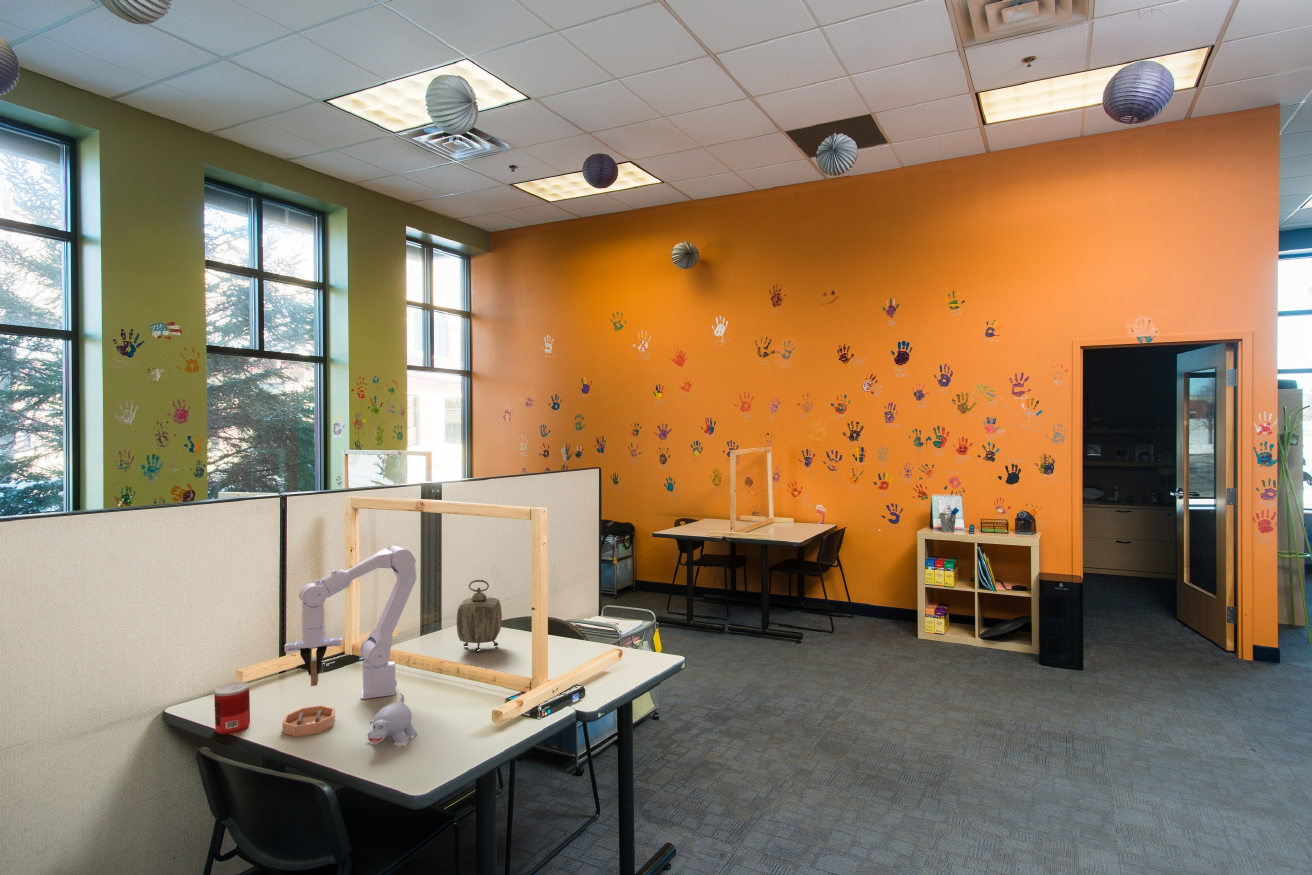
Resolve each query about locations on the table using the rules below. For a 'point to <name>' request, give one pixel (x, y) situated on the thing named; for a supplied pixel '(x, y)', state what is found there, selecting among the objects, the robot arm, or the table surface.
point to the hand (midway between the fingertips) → (314, 673)
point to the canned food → (232, 708)
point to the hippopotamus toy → (392, 724)
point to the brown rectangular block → (314, 671)
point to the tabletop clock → (479, 618)
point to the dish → (308, 720)
